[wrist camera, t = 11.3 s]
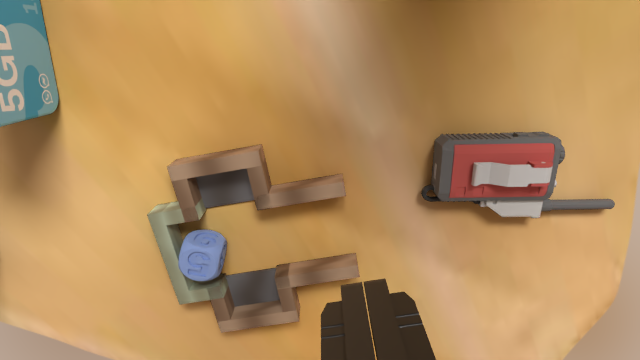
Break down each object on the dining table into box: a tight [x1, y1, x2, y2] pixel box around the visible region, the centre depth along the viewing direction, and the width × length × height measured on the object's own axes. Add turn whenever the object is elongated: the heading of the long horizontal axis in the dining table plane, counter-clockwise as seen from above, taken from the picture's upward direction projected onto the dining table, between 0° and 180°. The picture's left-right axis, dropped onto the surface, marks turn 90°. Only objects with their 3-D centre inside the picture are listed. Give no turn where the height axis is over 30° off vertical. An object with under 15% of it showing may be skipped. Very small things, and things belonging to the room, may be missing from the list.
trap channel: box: [147, 144, 360, 333], centre depth 41 cm, size 20×20×2 cm
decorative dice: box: [178, 230, 227, 281], centre depth 41 cm, size 4×4×4 cm
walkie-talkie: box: [421, 132, 615, 218], centre depth 38 cm, size 9×4×20 cm
